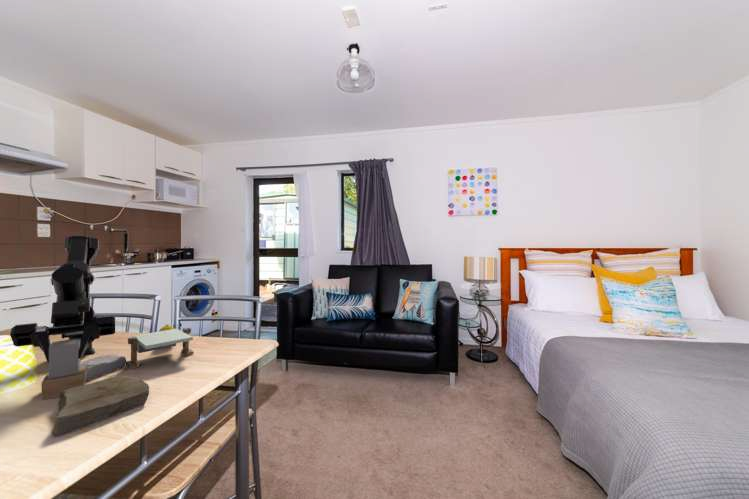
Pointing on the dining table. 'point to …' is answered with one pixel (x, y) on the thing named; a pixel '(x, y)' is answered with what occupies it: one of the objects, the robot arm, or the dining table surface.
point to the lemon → (166, 328)
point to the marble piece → (98, 402)
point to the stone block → (102, 365)
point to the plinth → (62, 383)
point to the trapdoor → (160, 340)
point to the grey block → (64, 358)
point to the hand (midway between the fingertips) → (64, 360)
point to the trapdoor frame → (133, 342)
